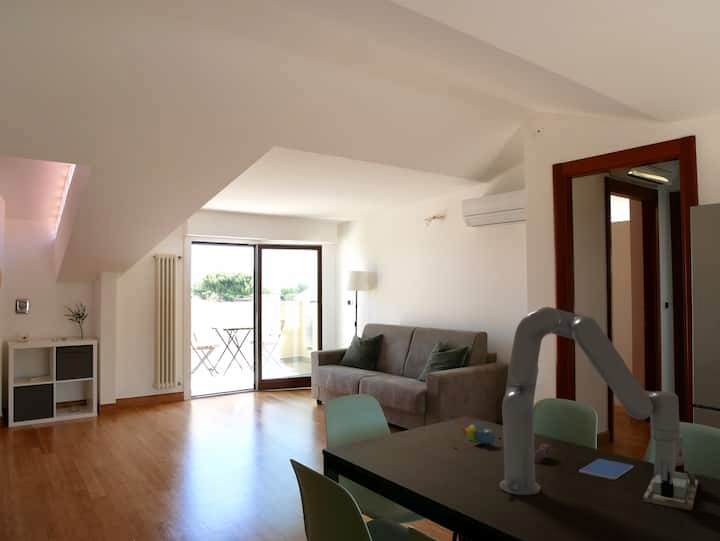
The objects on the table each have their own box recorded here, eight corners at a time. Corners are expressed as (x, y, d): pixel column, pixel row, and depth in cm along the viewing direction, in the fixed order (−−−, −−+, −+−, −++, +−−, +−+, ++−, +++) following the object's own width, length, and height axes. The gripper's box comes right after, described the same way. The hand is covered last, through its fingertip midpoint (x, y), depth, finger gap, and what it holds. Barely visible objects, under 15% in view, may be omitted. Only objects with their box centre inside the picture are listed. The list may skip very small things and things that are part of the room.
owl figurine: (487, 416, 242) (514, 423, 230) (487, 435, 242) (514, 443, 230) (441, 425, 226) (468, 433, 214) (441, 445, 226) (468, 455, 214)
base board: (691, 510, 155) (691, 493, 156) (643, 501, 163) (642, 485, 163) (698, 483, 177) (697, 468, 178) (655, 476, 185) (654, 462, 185)
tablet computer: (599, 461, 204) (599, 457, 204) (634, 468, 195) (634, 464, 195) (578, 473, 190) (578, 469, 190) (615, 482, 181) (615, 478, 181)
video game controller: (538, 467, 200) (547, 451, 199) (527, 460, 203) (535, 444, 201) (547, 460, 208) (555, 445, 207) (536, 453, 211) (544, 438, 209)
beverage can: (677, 478, 179) (675, 432, 179) (689, 485, 172) (687, 437, 173) (657, 478, 178) (655, 432, 179) (668, 485, 172) (667, 438, 173)
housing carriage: (685, 498, 161) (684, 482, 161) (653, 492, 166) (652, 477, 166) (687, 488, 169) (687, 473, 169) (657, 483, 174) (657, 468, 174)
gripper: (653, 427, 170) (656, 486, 169) (647, 437, 158) (650, 501, 157) (681, 430, 166) (683, 491, 165) (677, 441, 153) (680, 507, 152)
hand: (667, 496), depth 161 cm, fingers closed
